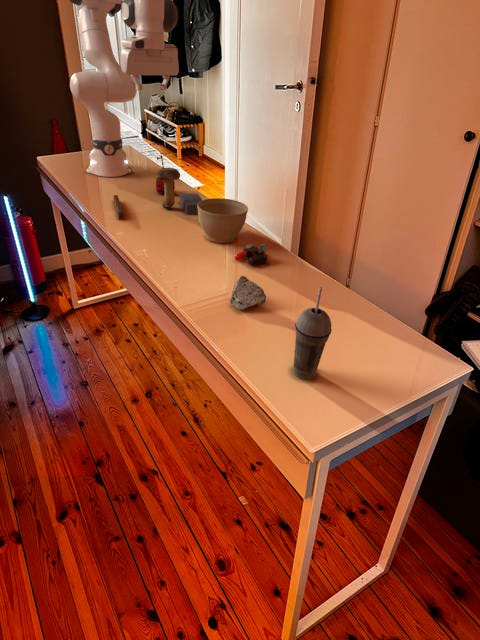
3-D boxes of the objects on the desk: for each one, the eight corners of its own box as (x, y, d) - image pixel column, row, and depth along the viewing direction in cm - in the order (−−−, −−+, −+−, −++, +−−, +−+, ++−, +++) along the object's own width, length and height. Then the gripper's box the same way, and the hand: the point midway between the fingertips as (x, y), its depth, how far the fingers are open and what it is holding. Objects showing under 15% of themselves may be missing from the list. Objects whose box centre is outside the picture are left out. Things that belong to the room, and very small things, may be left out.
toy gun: (252, 248, 152) (253, 234, 149) (270, 264, 143) (272, 249, 141) (224, 251, 148) (226, 237, 145) (242, 268, 139) (243, 253, 136)
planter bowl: (254, 237, 159) (257, 206, 153) (226, 252, 148) (229, 219, 142) (215, 224, 166) (217, 194, 160) (186, 237, 154) (186, 205, 149)
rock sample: (217, 293, 118) (241, 267, 118) (220, 298, 125) (242, 274, 126) (248, 320, 117) (272, 294, 117) (249, 324, 124) (272, 299, 125)
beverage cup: (285, 380, 98) (300, 296, 87) (288, 359, 104) (302, 278, 93) (321, 386, 97) (340, 302, 86) (321, 365, 103) (339, 284, 92)
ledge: (113, 201, 177) (113, 195, 175) (117, 201, 177) (117, 195, 176) (118, 219, 162) (118, 212, 161) (123, 219, 163) (123, 212, 162)
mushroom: (167, 215, 170) (168, 172, 162) (150, 208, 174) (150, 167, 166) (185, 209, 176) (187, 168, 168) (169, 203, 181) (169, 162, 172)
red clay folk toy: (161, 196, 186) (161, 157, 178) (152, 191, 190) (151, 152, 182) (177, 194, 190) (178, 155, 182) (168, 189, 194) (168, 151, 186)
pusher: (179, 202, 182) (179, 194, 180) (197, 202, 184) (198, 193, 182) (186, 214, 172) (186, 204, 170) (205, 213, 174) (205, 204, 172)
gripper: (172, 43, 161) (172, 88, 169) (117, 40, 149) (119, 89, 157) (182, 45, 157) (182, 91, 165) (127, 42, 146) (129, 91, 153)
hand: (151, 90), depth 161 cm, fingers open, 8 cm apart
